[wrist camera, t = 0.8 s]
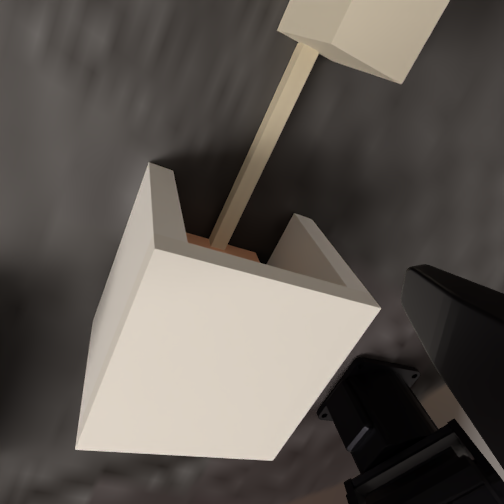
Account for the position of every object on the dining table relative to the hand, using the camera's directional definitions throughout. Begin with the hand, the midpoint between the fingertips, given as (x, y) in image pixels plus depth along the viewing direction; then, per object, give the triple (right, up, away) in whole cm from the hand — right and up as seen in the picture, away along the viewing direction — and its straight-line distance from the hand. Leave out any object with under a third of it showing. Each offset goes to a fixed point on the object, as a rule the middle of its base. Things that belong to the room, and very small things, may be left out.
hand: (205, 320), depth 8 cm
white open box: (-2, 0, +15) cm, 15 cm away
